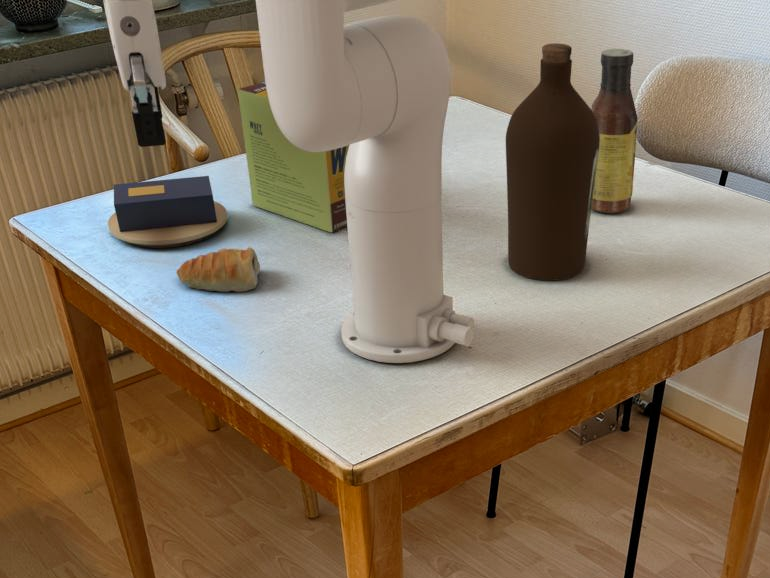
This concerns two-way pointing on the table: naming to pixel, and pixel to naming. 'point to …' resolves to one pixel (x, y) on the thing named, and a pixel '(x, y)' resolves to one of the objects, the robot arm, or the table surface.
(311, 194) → the protein box
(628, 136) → the sauce bottle
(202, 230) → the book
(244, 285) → the pastry
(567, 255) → the olive oil
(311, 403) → the table surface
